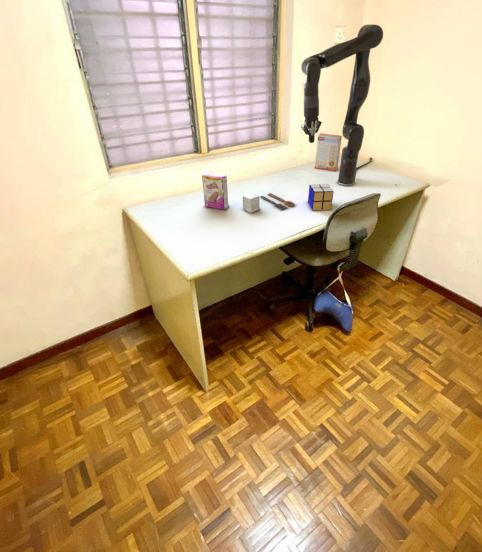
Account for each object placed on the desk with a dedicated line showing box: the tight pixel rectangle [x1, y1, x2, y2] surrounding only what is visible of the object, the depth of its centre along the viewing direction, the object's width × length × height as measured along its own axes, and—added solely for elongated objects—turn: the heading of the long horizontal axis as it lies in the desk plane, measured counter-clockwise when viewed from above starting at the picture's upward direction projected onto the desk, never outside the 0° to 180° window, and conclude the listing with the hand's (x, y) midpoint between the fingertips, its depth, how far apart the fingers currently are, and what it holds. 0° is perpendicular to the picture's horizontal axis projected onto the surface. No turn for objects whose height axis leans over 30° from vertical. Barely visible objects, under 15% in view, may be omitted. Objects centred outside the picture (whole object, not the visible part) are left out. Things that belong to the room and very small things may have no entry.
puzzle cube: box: [307, 183, 334, 211], centre depth 167 cm, size 10×10×10 cm
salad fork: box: [260, 195, 288, 211], centre depth 172 cm, size 4×19×1 cm, turn 39°
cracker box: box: [314, 133, 343, 172], centre depth 211 cm, size 14×6×21 cm, turn 66°
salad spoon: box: [267, 193, 295, 208], centre depth 175 cm, size 4×19×1 cm, turn 39°
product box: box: [242, 192, 261, 214], centre depth 163 cm, size 6×6×7 cm
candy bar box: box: [201, 171, 229, 211], centre depth 162 cm, size 11×5×16 cm, turn 71°
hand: (311, 142), depth 173 cm, fingers closed
